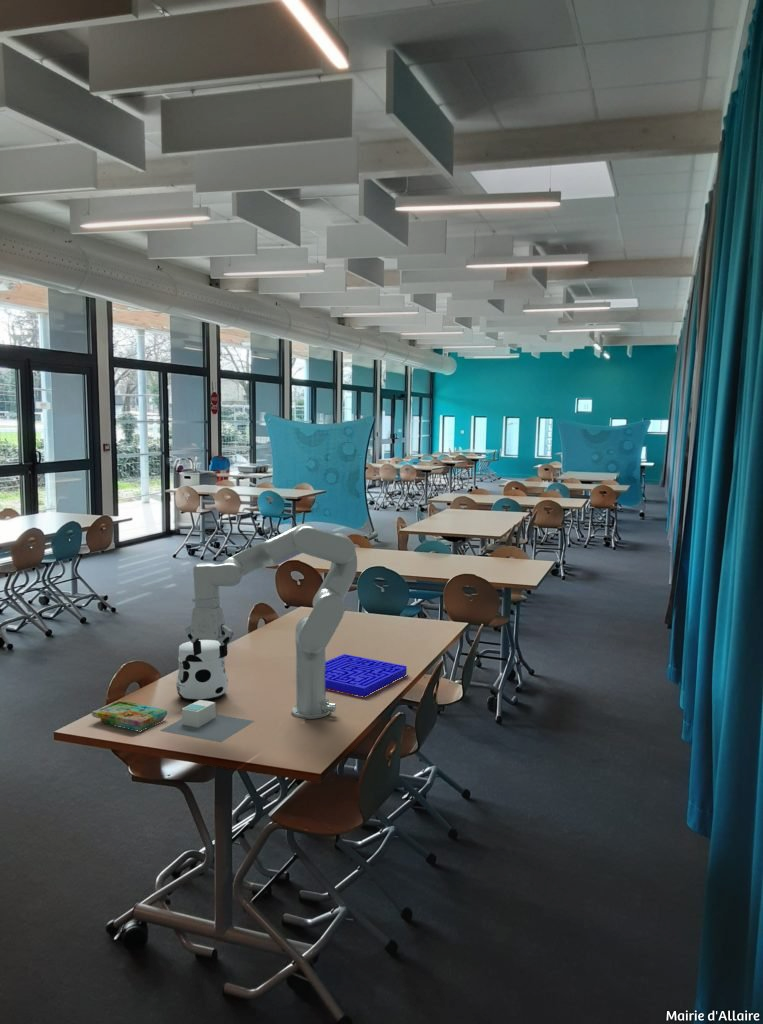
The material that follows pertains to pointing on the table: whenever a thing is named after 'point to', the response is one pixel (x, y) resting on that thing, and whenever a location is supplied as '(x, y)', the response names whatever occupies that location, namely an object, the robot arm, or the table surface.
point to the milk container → (201, 672)
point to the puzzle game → (130, 715)
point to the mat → (210, 728)
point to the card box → (198, 713)
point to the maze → (360, 674)
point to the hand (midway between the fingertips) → (210, 655)
